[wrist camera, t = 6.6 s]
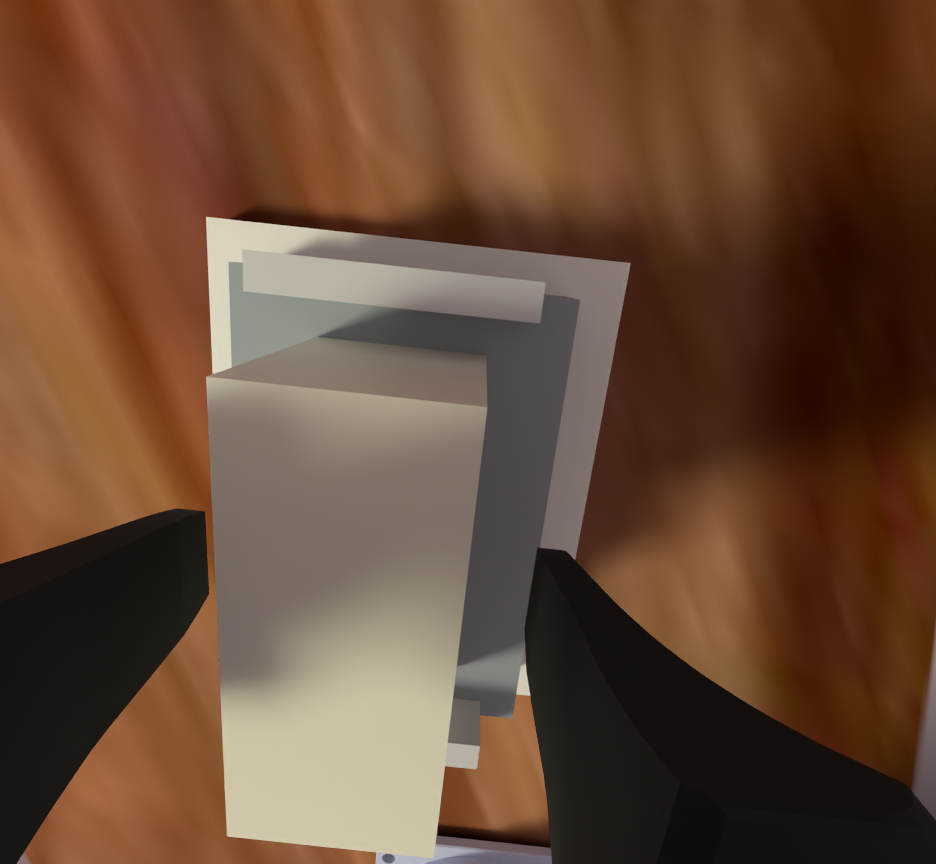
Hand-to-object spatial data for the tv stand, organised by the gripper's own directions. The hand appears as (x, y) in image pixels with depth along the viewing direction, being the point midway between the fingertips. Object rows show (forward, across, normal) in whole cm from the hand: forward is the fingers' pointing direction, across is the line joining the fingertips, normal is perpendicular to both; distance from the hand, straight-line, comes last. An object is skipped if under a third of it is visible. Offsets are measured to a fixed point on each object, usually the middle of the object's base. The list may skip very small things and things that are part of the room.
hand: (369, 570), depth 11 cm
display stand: (+5, 0, 0) cm, 5 cm away
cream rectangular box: (+2, 0, 0) cm, 2 cm away
